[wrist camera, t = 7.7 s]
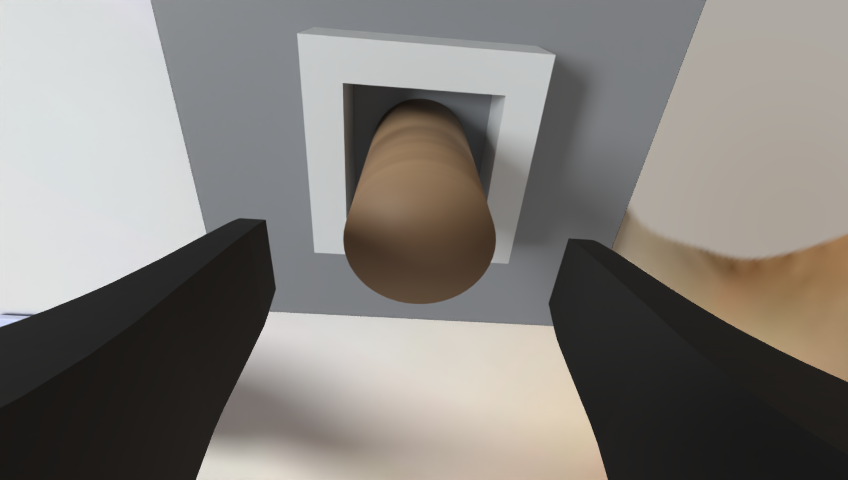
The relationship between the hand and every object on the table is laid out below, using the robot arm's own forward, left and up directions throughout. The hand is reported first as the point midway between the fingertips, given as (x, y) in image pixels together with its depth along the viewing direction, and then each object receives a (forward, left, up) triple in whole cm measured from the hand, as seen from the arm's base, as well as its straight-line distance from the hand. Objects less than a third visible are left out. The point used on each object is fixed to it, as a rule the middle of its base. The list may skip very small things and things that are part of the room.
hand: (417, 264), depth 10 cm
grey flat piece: (0, 0, -10) cm, 10 cm away
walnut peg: (0, 0, -9) cm, 9 cm away
